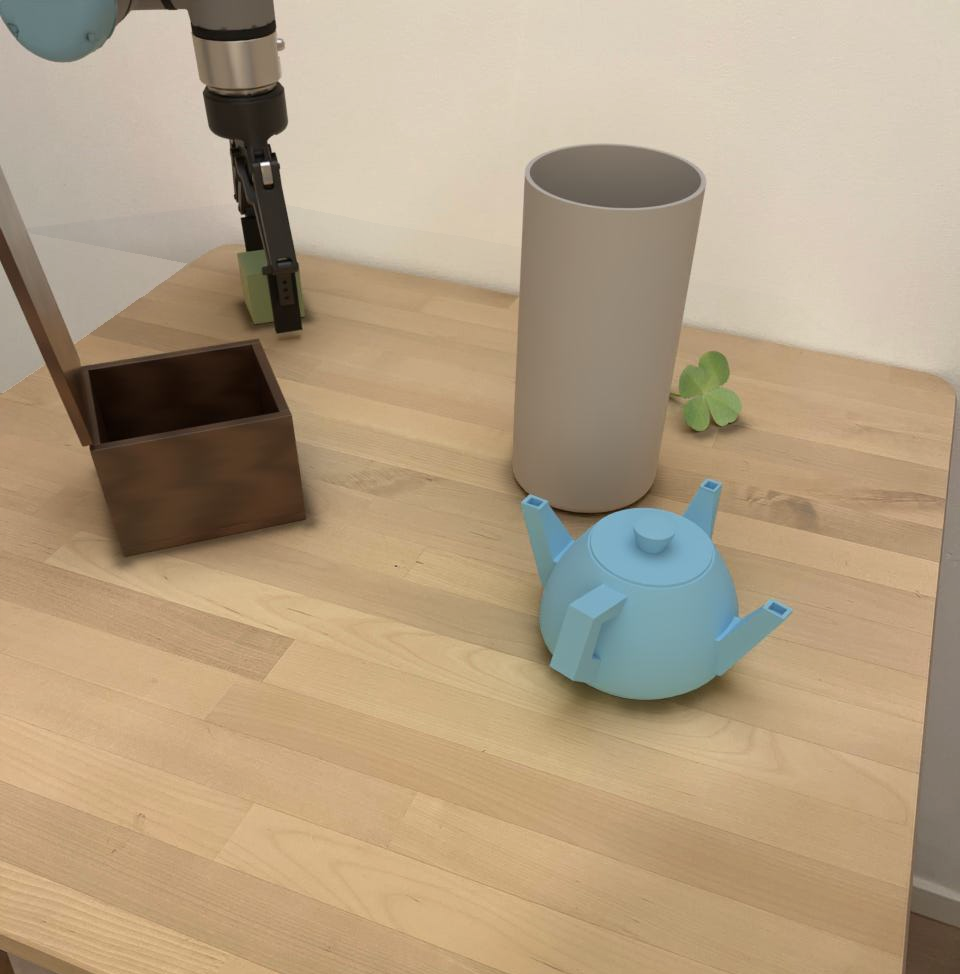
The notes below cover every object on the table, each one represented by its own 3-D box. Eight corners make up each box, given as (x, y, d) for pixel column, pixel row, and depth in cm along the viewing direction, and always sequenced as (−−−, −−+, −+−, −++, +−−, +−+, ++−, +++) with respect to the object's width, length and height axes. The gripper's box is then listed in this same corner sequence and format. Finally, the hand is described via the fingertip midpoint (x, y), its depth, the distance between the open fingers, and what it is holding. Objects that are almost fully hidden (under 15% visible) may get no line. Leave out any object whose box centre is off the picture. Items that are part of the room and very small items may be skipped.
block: (244, 302, 106) (236, 252, 102) (293, 295, 108) (287, 246, 104) (254, 324, 103) (246, 274, 99) (305, 316, 104) (299, 267, 100)
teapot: (511, 578, 75) (517, 462, 67) (699, 562, 76) (726, 447, 69) (550, 730, 64) (562, 612, 56) (767, 707, 66) (807, 590, 58)
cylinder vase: (662, 519, 80) (720, 211, 62) (512, 516, 80) (527, 208, 62) (646, 435, 89) (692, 145, 71) (510, 432, 89) (522, 142, 71)
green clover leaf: (681, 450, 96) (727, 448, 90) (623, 410, 92) (667, 405, 86) (709, 385, 96) (756, 379, 91) (653, 343, 93) (698, 334, 87)
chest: (274, 437, 88) (258, 337, 81) (306, 518, 79) (292, 415, 72) (108, 468, 84) (76, 366, 77) (123, 557, 76) (90, 451, 69)
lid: (-5, 154, 65) (-17, 156, 65) (-1, 225, 57) (-15, 228, 57) (80, 360, 77) (70, 362, 77) (93, 444, 68) (82, 447, 68)
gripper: (313, 121, 82) (337, 349, 97) (256, 45, 99) (284, 250, 114) (225, 130, 80) (264, 362, 95) (182, 51, 97) (220, 260, 112)
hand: (275, 302), depth 105 cm, fingers open, 13 cm apart
